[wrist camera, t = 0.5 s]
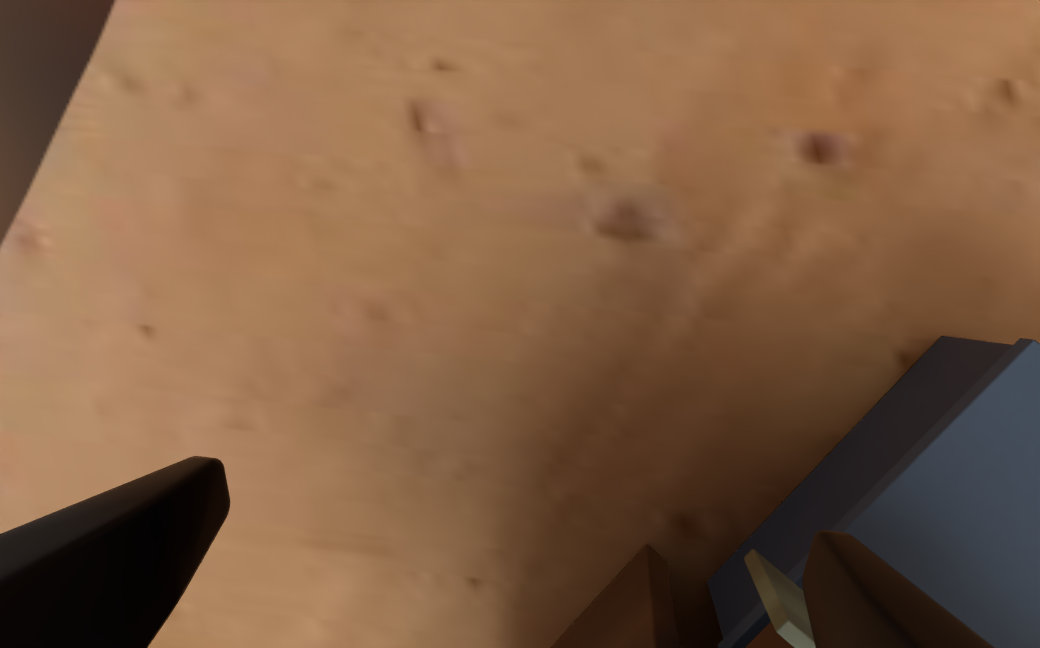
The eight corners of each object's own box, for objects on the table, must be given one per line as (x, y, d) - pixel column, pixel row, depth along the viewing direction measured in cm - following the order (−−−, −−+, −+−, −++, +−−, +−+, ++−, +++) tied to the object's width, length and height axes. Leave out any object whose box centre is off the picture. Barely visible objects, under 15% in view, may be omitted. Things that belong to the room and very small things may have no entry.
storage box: (1155, 491, 19) (1321, 553, 14) (884, 739, 21) (956, 863, 16) (941, 328, 20) (1034, 338, 15) (700, 580, 22) (720, 656, 17)
